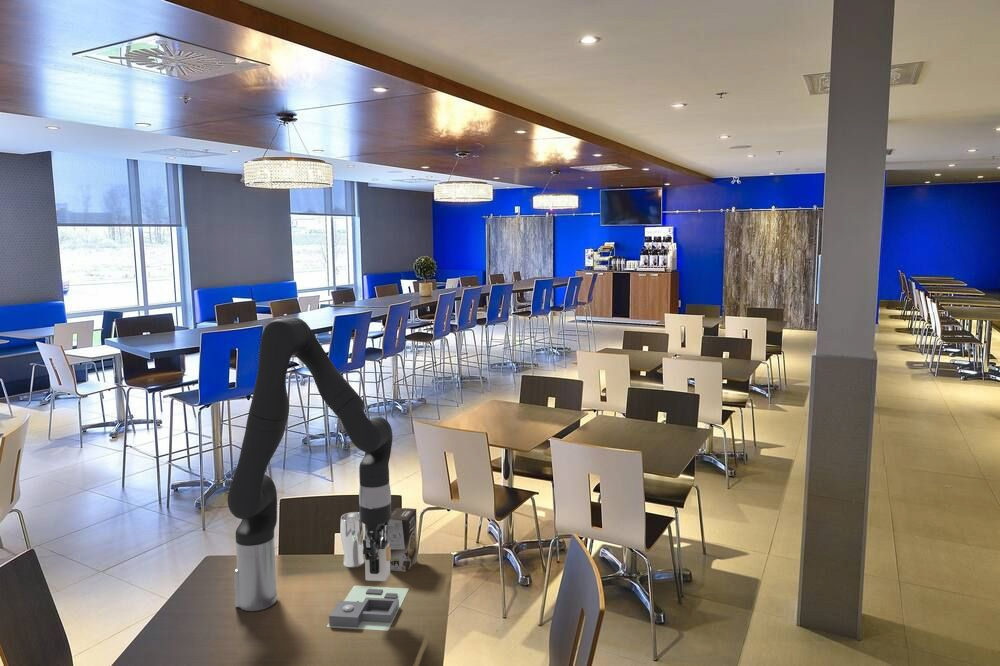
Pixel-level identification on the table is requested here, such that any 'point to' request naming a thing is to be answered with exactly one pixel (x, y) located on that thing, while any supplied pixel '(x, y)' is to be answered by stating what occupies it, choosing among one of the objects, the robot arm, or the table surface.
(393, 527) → the coffee box
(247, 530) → the robot arm
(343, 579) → the table surface
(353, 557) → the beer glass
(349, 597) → the board
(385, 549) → the plug
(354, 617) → the grey button block
